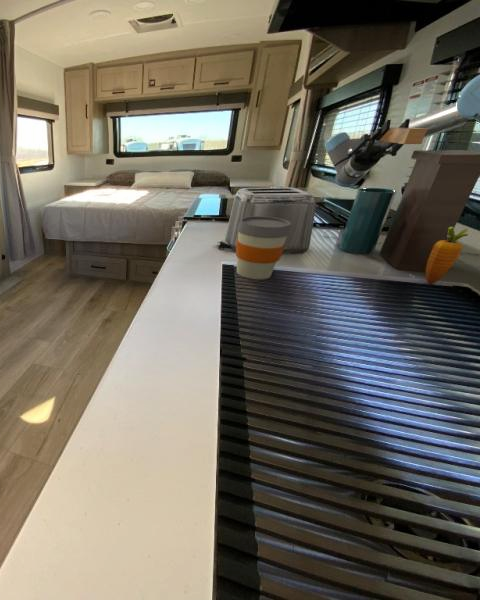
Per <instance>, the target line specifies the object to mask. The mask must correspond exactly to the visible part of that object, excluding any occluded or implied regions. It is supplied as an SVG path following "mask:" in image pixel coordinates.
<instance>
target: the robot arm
mask: <svg viewBox="0 0 480 600" xmlns="http://www.w3.org/2000/svg"><path fill="white" fill-rule="evenodd" d="M470 119H475V120H476V121H477V122H479V123H480V74H478V75H476V76H475V77H474V78H472V79H471V80H470V81H468V82H467V84H466V85H465V86H463V88H462V89H461V91H460V93H458V96H457V100H456V102H453V103H451V104H448V105H446V106H443V107H441V108H438V109H436V110H433V111H431V112H427V113H425V114H422V115H419V116H416V117H415V118H412V119H410V118H406V119H405V120H404V121H403V122H401V123H399V124H396V125H393V126H392V127H399V128H427V131H426V134H425V136H424V139H425V138H429V137H432V136H435V135H438V134H441V133H445V132H447V131H450V130H453V129H456V128H460V127H462V125H463V126H465V125H464V124H465V123H466V122H467V121H468V120H470ZM391 122H392V119H387V120H386V121H385V122H384V123H383V125H382V126H380V127H378V128H376V129H375V130H374V131H373V132H372V133H370V134H368V133H363V135H361V137H359V138H351V137H350V135H349V134H348V133H347V132H346V131H343V132H339V133H336V134H335V135H333V136H331V137H330V138H328V140H326V141H325V143H324V147H325V151H326V153H327V155H328V157H329V159H330V161H331V163H332V166H333V168H334V170H335V172H336V175H335V178H334V180H335V183H336V185H337V186H339V187H342V188H349V187H351V186H354V185H356V184H357V183H358V182H360V181H361V180H362V178H363V177H364V176H365V175H366V174H367V173H368V172H370V170H372V168H374V167H375V166H376V165H377V164H378V163H379V162H380V160H381V159H383V158H384V157H386V156H387V155H389V156H391V157H396V156H397V154H398V152H399V150H401V148H402V147H403V146H404V145H405V144H400V143H392V142H385V141H379V140H380V139H381V138H382V136H383V135H384V134H385V133H386V132H387V131H388V130H389V129H390V127H391ZM375 139H376V140H375Z"/></svg>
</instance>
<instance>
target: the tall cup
mask: <svg viewBox="0 0 480 600" xmlns="http://www.w3.org/2000/svg"><path fill="white" fill-rule="evenodd" d="M396 195H397V190H395V189H390V188H380V187H360V188H358V189H357V192H356V194H355V197H354V201H353V203H352V207H351V210H350V212H349V216H348V218H347V221H346V224H345V228H344V231H343V233H342V237H341V239H340V243H339V245H338V250H340V251H342V252H344V253H348V254H352V255H353V254H354V255H361V256H363V255H365V256H367V255H372V254H373V253H374V251H375V250H376V246H377V244H378V241H379V238H380V236H381V234H382V230H383V228H384V225H385V223H386V220H387V218H388V216H389V212H390V211H391V208H392V205H393V203H394V200H395V197H396Z"/></svg>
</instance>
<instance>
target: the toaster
mask: <svg viewBox="0 0 480 600" xmlns="http://www.w3.org/2000/svg"><path fill="white" fill-rule="evenodd" d="M319 209H320V206H319V205H318V204H317V198H316V197H315V196H314V195H313V194H311V193H310V192H308V191H305V190H302V189H299V188H296V187H243V188H239V189H238V190H237V192H236V193H235V195H234V198H233V203H232V207H231V210H230V216H229V220H228V224H227V229H226V233H225V242H224V241H223V240H220V241H217V243H218V244H219V245H218V244H217V245H216V247H218V249H223V250H225V249H228V250H233V251H234V252H236V240H237V239H238V230H237V229H238V226H239V222H240V220H241V219H242V218H244V217H251V216H266V217H275V218H280V219H284V220H287V221H289V222H290V223H291V224H290V231H289V235H288V236H287V237H286V240H285V242H284V243H285V247H284V249H283V252H287V253H290V254H301V255H302V254H304V253H306V252H307V251H308V249H309V248H310V246H311V240H312V239H311V238H312V233H313V227H314V220H315V214H316V210H319Z"/></svg>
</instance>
